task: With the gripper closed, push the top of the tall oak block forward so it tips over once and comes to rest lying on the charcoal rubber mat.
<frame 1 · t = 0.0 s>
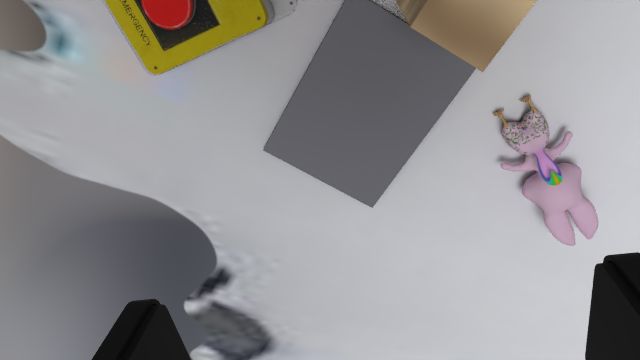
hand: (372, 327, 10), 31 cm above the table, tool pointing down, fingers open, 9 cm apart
pink creature figurine: (540, 165, 42), on the table
charcoal mat: (363, 109, 40), on the table
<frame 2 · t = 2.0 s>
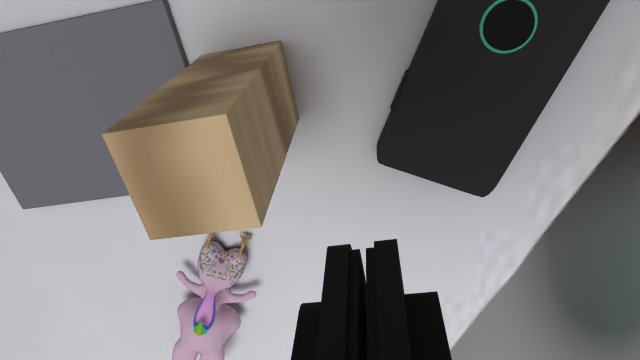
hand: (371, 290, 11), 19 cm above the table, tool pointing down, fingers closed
oak block: (251, 88, 28), on the table
smart home device: (501, 22, 26), on the table
pink creature figurine: (217, 292, 38), on the table
charcoal mat: (87, 115, 30), on the table
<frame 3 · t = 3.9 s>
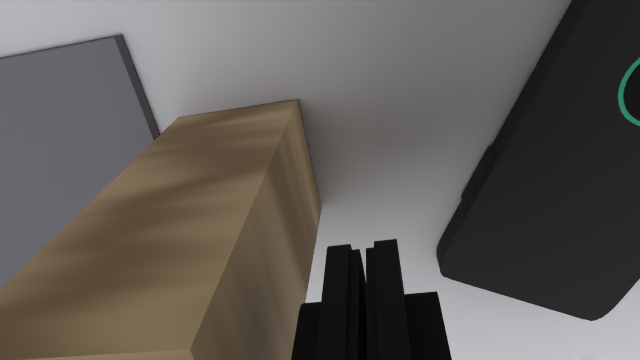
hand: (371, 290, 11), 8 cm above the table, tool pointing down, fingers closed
oak block: (252, 164, 19), on the table, touching gripper
smart home device: (639, 76, 17), on the table
charcoal mat: (14, 197, 21), on the table
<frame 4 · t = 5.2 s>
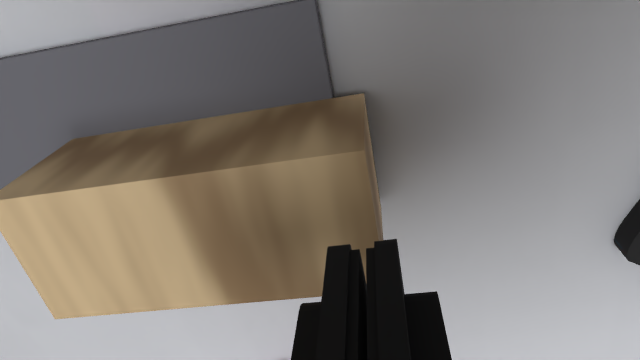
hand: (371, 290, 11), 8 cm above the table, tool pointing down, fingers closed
oak block: (374, 185, 15), point 3 cm above the table, tilted 90°, touching charcoal mat
charcoal mat: (162, 176, 20), on the table
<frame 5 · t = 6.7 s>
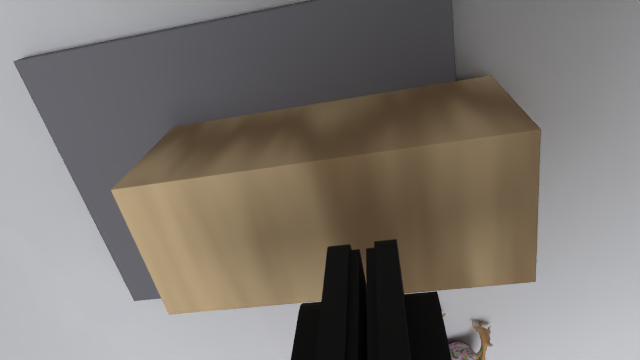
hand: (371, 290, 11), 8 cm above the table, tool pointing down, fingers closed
oak block: (511, 171, 15), point 3 cm above the table, tilted 90°, touching charcoal mat
charcoal mat: (260, 166, 19), on the table
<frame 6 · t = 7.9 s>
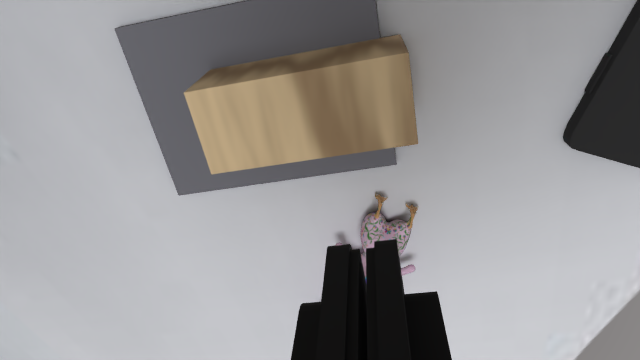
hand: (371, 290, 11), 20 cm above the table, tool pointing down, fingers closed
oak block: (408, 86, 26), point 3 cm above the table, tilted 90°, touching charcoal mat
pink creature figurine: (362, 269, 36), on the table
charcoal mat: (264, 97, 30), on the table
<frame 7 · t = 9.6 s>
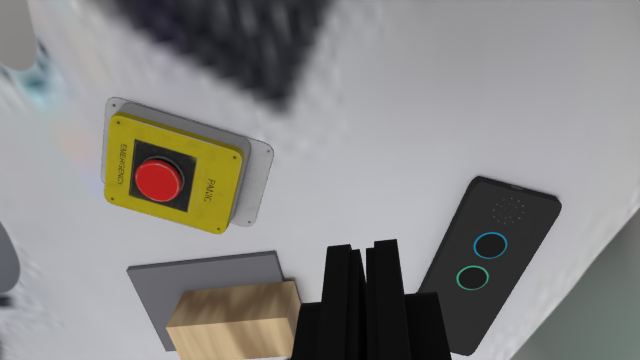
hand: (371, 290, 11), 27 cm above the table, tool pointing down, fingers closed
oak block: (296, 317, 45), point 3 cm above the table, tilted 90°, touching charcoal mat
emergency button: (187, 162, 42), on the table
smart home device: (469, 267, 45), on the table
charcoal mat: (217, 302, 49), on the table
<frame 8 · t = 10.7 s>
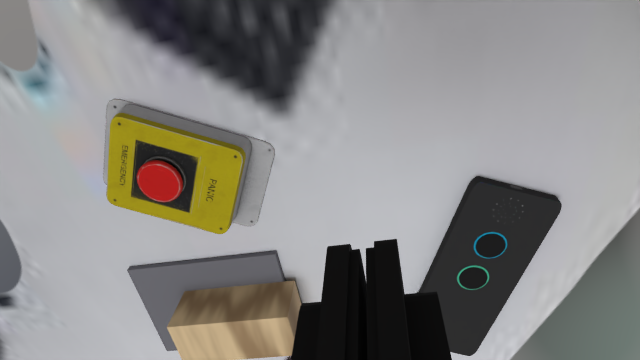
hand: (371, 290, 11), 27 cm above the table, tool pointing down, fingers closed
oak block: (296, 316, 45), point 3 cm above the table, tilted 90°, touching charcoal mat
emergency button: (189, 162, 42), on the table
smart home device: (470, 267, 45), on the table
charcoal mat: (218, 302, 49), on the table
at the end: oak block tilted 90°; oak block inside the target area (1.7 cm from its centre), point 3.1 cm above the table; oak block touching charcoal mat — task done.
